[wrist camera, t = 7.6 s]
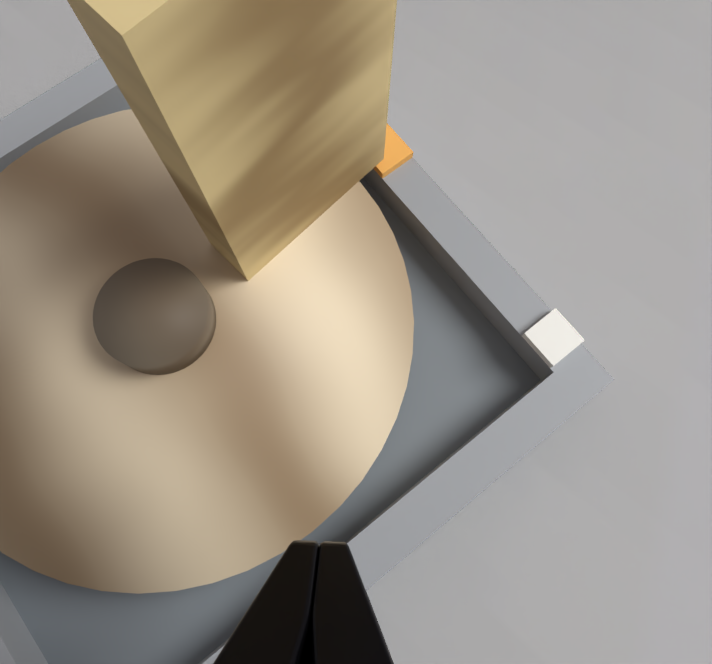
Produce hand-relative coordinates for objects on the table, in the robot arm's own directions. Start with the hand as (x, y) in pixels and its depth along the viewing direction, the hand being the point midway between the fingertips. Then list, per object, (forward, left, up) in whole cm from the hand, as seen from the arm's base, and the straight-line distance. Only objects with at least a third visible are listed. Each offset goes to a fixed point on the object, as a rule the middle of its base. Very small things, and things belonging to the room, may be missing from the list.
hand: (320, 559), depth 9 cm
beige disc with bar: (+7, 0, -8) cm, 11 cm away
